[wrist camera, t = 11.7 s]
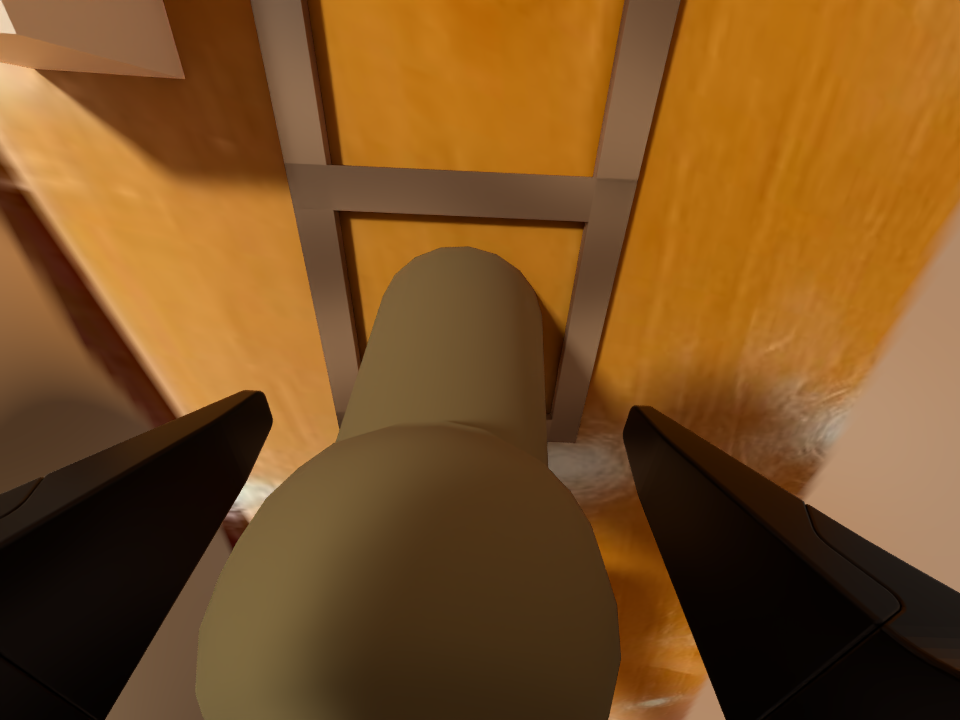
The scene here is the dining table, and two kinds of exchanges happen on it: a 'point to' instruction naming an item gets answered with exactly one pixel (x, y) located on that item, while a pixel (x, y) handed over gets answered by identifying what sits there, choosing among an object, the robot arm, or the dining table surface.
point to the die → (89, 37)
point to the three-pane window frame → (464, 191)
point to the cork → (423, 536)
